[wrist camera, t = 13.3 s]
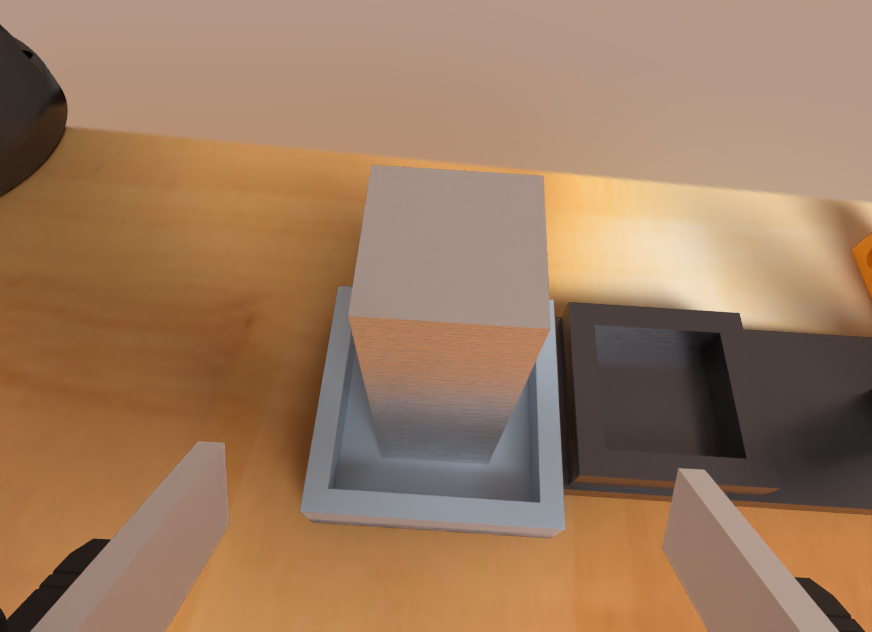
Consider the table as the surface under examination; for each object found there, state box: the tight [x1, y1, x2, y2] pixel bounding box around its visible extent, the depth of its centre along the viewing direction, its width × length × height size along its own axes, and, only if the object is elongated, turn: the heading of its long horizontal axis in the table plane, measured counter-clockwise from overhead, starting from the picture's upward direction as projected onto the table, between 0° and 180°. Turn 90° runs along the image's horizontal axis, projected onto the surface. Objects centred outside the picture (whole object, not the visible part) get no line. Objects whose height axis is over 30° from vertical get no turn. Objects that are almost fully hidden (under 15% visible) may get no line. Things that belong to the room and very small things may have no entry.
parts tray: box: [300, 286, 565, 538], centre depth 27 cm, size 11×11×3 cm
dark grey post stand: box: [555, 302, 872, 515], centre depth 21 cm, size 19×9×17 cm, turn 87°
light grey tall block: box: [348, 165, 551, 465], centre depth 21 cm, size 5×5×14 cm
